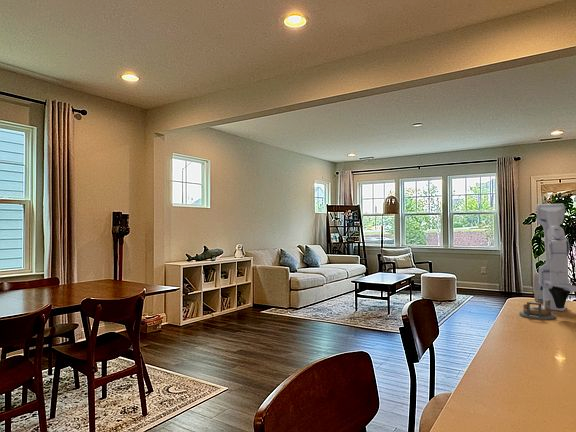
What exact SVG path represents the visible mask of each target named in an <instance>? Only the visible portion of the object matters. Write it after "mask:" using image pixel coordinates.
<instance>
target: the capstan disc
mask: <svg viewBox="0 0 576 432" xmlns="http://www.w3.org/2000/svg"><path fill="white" fill-rule="evenodd" d="M522 307H523V308H522V309H523V310H522V311H523V312H524V313H527V303H524V304H523V306H522ZM541 312H542V315H551V313H552V310H551V305H550V300H545V308H543V307H542V306H541ZM530 314H532V315H539V308H538V306H530Z"/></svg>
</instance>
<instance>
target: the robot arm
mask: <svg viewBox="0 0 576 432" xmlns="http://www.w3.org/2000/svg"><path fill="white" fill-rule="evenodd" d="M535 208H536V209H535V211H536V212H535V213H536V221H537V224H538V225H539V226H542V229H543V233H544V234H543V236H544V252H545V255H544V256H545V264H543V265H541V266H540V267H539V268H538V274H539V284H540V285H541V286H542V287H543V302H542V304H543V305H541V307H543V308H545V300H550V305H551V311H558V312H559V311H562V312H564V311H565V310H566V308H567V306H565V305H566V302H567V299H568V297H569V296H570V294H571V292H573V293H575V292H576V285H573V284H572V283H570V282H569V259H568V258H569V257H568V256H569V255H570V250H571V249H570V242H569V239H568V238H567V237H566V233H565V230H564V228H563V227H562V226H561V225H562V224H563V222H564V221H565V215H566V208H565V204H564V203H562V202H561V203H544V204H543V203H537V204H536V207H535Z"/></svg>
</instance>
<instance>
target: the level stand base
mask: <svg viewBox="0 0 576 432" xmlns="http://www.w3.org/2000/svg"><path fill="white" fill-rule="evenodd" d="M526 304H527V313H524V312H523V310H520V311H519V314H518V315H519V316H520V317H522V318H525V319H526V318H527V319H532V320H538V321H539V320H541V321H545V320H546V321H547V320H548V321H549V320H550V321H551V320H555V319H556V317H557V315H556V314H555V313H552V312H551V315H542V312H541V307H542V302H532V301H526ZM531 305H535V306H537V307H538V308H539V315H532V314H530V307H531Z"/></svg>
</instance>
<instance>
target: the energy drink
mask: <svg viewBox="0 0 576 432" xmlns="http://www.w3.org/2000/svg"><path fill="white" fill-rule="evenodd" d="M533 292H534V293H533V294H534V295H533V296H534V300H533V301H535V302H537V303H543V287H542V286H541V285H540V284H539V273H537V274H534V275H533Z"/></svg>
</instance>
